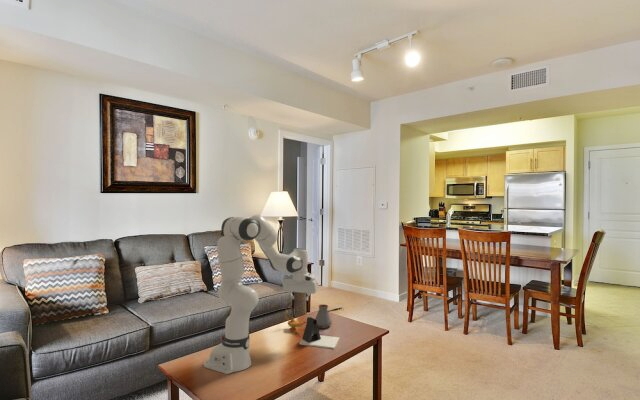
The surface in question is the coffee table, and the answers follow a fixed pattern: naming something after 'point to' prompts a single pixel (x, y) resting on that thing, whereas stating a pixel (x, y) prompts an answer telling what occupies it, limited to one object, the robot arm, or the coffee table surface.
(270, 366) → the coffee table surface
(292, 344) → the coffee table surface
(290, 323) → the magic lamp
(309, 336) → the phone stand
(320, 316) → the coffee pot
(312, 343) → the mat
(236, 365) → the robot arm
